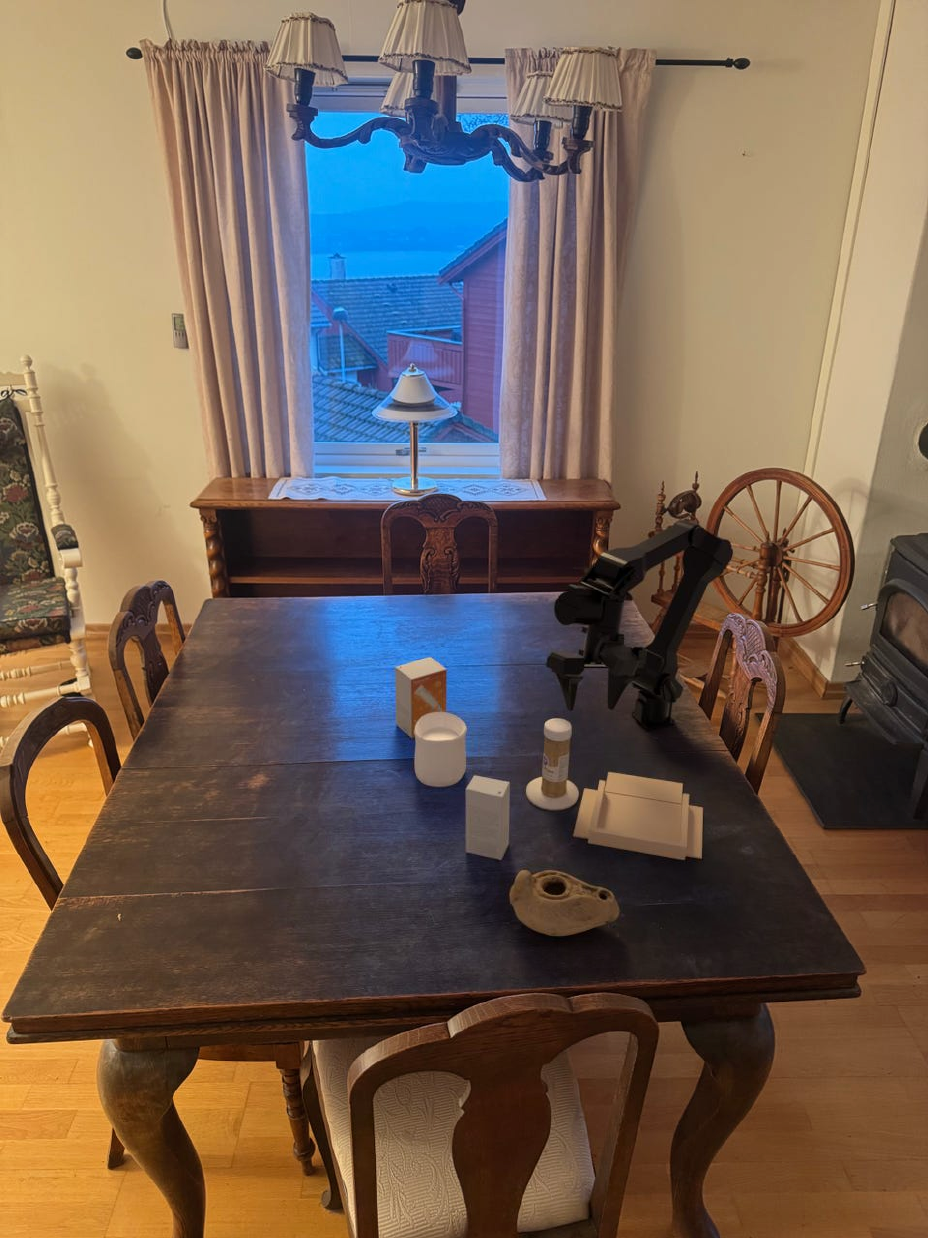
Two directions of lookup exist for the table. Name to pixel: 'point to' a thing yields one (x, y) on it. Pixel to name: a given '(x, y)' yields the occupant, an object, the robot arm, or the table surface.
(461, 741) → the cup
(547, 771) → the sprinkles bottle
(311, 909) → the table surface
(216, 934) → the table surface
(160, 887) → the table surface
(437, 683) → the small box
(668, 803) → the carton
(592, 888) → the oil lamp
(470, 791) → the skincare box
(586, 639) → the robot arm
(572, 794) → the coaster
